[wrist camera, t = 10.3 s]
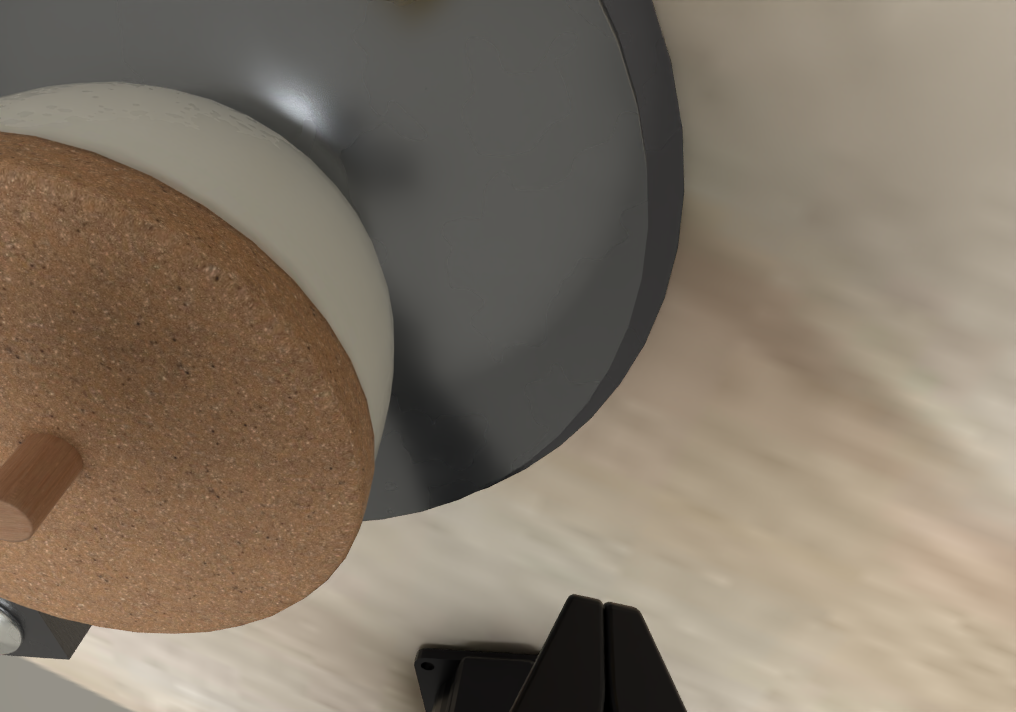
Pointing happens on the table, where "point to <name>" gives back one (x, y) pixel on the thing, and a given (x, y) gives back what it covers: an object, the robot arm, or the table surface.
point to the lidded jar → (178, 361)
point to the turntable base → (664, 189)
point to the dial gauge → (37, 633)
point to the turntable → (423, 187)
